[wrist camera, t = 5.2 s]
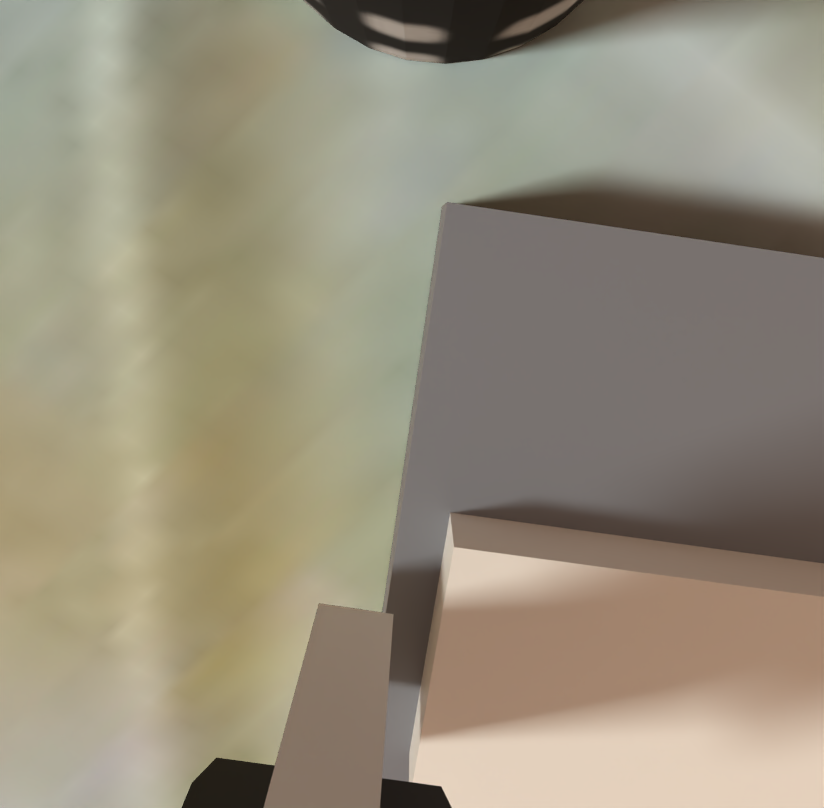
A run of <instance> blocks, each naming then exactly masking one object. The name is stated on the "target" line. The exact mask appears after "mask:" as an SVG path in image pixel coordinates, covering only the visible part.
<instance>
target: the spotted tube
mask: <svg viewBox="0 0 824 808" xmlns="http://www.w3.org/2000/svg"><path fill="white" fill-rule="evenodd" d="M304 1H305V2H306V3H307V4H308V5H309V6H310V7H311V8H313V9H314V10H315V11H316V12H317V13H318V14H319V15H321V16H322V17H323V18H324V19H325V20H326V21H327V22H329V23H330V24H331V25H332V26H333V27H334V28H336V29H337V30H339V31H341V32H343V33H344V34H346V35H348V36H350V37H351V38H353V39H355V40H357V41H358V42H360V43H362V44H363V45H365V46H367V47H369V48H371V49H374V50H377V51H380V52H384V53H387V54H390V55H393V56H396V57H399V58H402V59H405V60H413V61H423V62H433V63H444V64H446V63H454V62H462V61H471V60H479V59H485V58H488V57H490V56H493V55H496V54H499V53H502V52H505V51H508V50H511V49H514V48H517V47H520V46H522V45H523V44H525V43H527V42H528V41H530V40H532V39H533V38H535V37H537V36H538V35H540V34H542V33H544V32H545V31H547V30H549V29H550V28H552V27H554V26H555V25H557V24H558V23H559V22H560V21H561V20H562V19H563V18H564V17H566V16H567V15H568V14H569V13H570V12H571V11H572V10H573V9H575V8H576V7H577V6H578V5H579V4H580V3H581V2H582V1H584V0H304Z"/></svg>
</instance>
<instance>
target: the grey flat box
mask: <svg viewBox="0 0 824 808" xmlns="http://www.w3.org/2000/svg"><path fill="white" fill-rule="evenodd" d="M450 513H457V514H464V515H472V516H479V517H486V518H494V519H501V520H508V521H516V522H523V523H530V524H538V525H545V526H552V527H560V528H567V529H574V530H582V531H589V532H596V533H604V534H611V535H618V536H626V537H633V538H640V539H648V540H655V541H662V542H670V543H677V544H684V545H692V546H699V547H706V548H714V549H721V550H728V551H736V552H743V553H750V554H758V555H765V556H773V557H780V558H787V559H795V560H802V561H809V562H817V563H824V258H820V257H814V256H807V255H800V254H793V253H787V252H780V251H773V250H766V249H760V248H753V247H746V246H739V245H733V244H726V243H719V242H712V241H706V240H699V239H692V238H685V237H679V236H672V235H665V234H658V233H652V232H645V231H638V230H631V229H625V228H618V227H611V226H604V225H598V224H591V223H584V222H577V221H571V220H564V219H557V218H550V217H544V216H537V215H530V214H523V213H516V212H510V211H503V210H496V209H489V208H483V207H476V206H469V205H462V204H456V203H449V202H447V203H446V204H445V205H443V206H442V210H441V217H440V224H439V231H438V238H437V244H436V251H435V258H434V265H433V271H432V278H431V285H430V292H429V299H428V305H427V312H426V319H425V326H424V333H423V339H422V346H421V353H420V360H419V366H418V373H417V380H416V387H415V394H414V400H413V407H412V414H411V421H410V427H409V434H408V441H407V448H406V455H405V461H404V468H403V475H402V482H401V488H400V495H399V502H398V509H397V516H396V522H395V529H394V536H393V543H392V550H391V556H390V563H389V570H388V577H387V583H386V590H385V597H384V604H383V611H382V613H389V614H393V628H392V642H391V656H390V671H389V685H388V699H387V713H386V728H385V742H384V756H383V770H382V778H384V779H392V780H399V781H406V782H409V752H410V746H411V740H412V734H413V728H414V722H415V716H416V711H417V705H418V699H419V693H420V687H421V681H422V675H423V670H424V664H425V658H426V652H427V646H428V640H429V634H430V629H431V623H432V617H433V611H434V605H435V599H436V593H437V588H438V582H439V576H440V570H441V564H442V558H443V552H444V547H445V541H446V535H447V529H448V523H449V517H450Z"/></svg>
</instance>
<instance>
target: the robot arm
mask: <svg viewBox="0 0 824 808" xmlns="http://www.w3.org/2000/svg"><path fill="white" fill-rule="evenodd" d="M392 628H393V614H389V613H382V612H375V611H369V610H362V609H355V608H348V607H341V606H334V605H327V604H320V603H319V605H318V609H317V612H316V616H315V620H314V623H313V627H312V631H311V634H310V638H309V642H308V645H307V649H306V653H305V657H304V660H303V664H302V668H301V671H300V675H299V679H298V682H297V686H296V690H295V693H294V697H293V701H292V704H291V708H290V712H289V716H288V719H287V723H286V727H285V730H284V734H283V738H282V741H281V745H280V749H279V752H278V756H277V760H276V763H275V766H273V765H266V764H259V763H251V762H244V761H237V760H229V759H222V758H216V759H215V760H214V761H213V762H212V763H211V764H210V765H209V766H208V767H207V768H206V769H205V770H204V771H203V772H202V773H201V774H200V775H199V776H198V777H197V778H196V779H195V780H194V781H193V782H192V784H191V786H190V789H189V791H188V794H187V796H186V799H185V801H184V803H183V806H182V808H452V807H451V805H450V803H449V801H448V799H447V797H446V795H445V793H444V791H443V789H442V787H441V786H435V785H428V784H421V783H414V782H406V781H399V780H392V779H384V778H382V770H383V756H384V742H385V728H386V713H387V699H388V685H389V671H390V656H391V642H392Z"/></svg>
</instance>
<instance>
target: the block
mask: <svg viewBox="0 0 824 808" xmlns="http://www.w3.org/2000/svg"><path fill="white" fill-rule="evenodd" d="M409 782H414V783H421V784H428V785H435V786H441V787H442V789H443V791H444V793H445V795H446V797H447V799H448V801H449V803H450V805H451V807H452V808H824V563H817V562H809V561H802V560H795V559H787V558H780V557H773V556H765V555H758V554H750V553H743V552H736V551H728V550H721V549H714V548H706V547H699V546H692V545H684V544H677V543H670V542H662V541H655V540H648V539H640V538H633V537H626V536H618V535H611V534H604V533H596V532H589V531H582V530H574V529H567V528H560V527H552V526H545V525H538V524H530V523H523V522H516V521H508V520H501V519H494V518H486V517H479V516H472V515H464V514H457V513H450V517H449V523H448V529H447V535H446V541H445V547H444V552H443V558H442V564H441V570H440V576H439V582H438V588H437V593H436V599H435V605H434V611H433V617H432V623H431V629H430V634H429V640H428V646H427V652H426V658H425V664H424V670H423V675H422V681H421V687H420V693H419V699H418V705H417V711H416V716H415V722H414V728H413V734H412V740H411V746H410V752H409Z"/></svg>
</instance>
